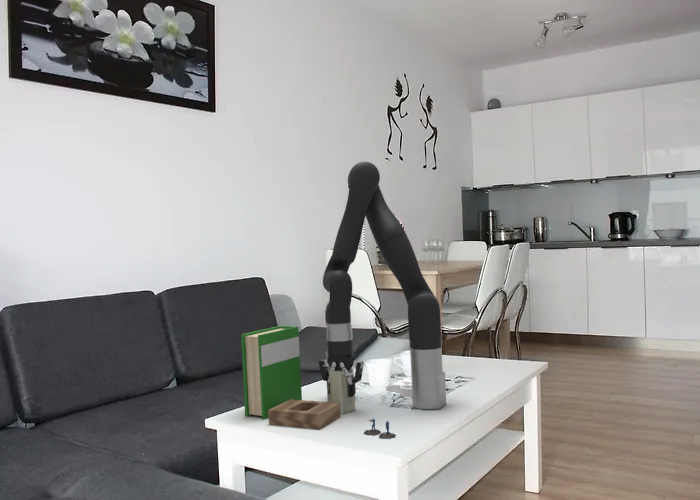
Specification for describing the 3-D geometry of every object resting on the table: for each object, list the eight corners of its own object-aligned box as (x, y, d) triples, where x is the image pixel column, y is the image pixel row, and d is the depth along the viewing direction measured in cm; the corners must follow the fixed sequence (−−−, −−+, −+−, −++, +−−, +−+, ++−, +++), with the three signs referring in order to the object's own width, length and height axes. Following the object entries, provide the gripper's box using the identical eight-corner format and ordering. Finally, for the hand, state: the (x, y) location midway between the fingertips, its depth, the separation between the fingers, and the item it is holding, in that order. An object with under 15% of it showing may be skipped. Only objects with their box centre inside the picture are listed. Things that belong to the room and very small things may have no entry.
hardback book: (264, 419, 178) (260, 335, 177) (245, 416, 182) (240, 334, 181) (302, 404, 193) (298, 326, 192) (283, 402, 197) (279, 325, 196)
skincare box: (345, 407, 186) (343, 366, 186) (356, 409, 183) (354, 368, 183) (330, 412, 182) (328, 370, 182) (341, 414, 179) (339, 372, 179)
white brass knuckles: (407, 384, 214) (447, 388, 206) (381, 396, 199) (422, 401, 191) (407, 374, 214) (446, 378, 206) (380, 385, 199) (421, 390, 191)
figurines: (401, 436, 157) (400, 419, 157) (389, 441, 154) (388, 424, 154) (371, 429, 164) (370, 413, 164) (359, 434, 161) (358, 417, 160)
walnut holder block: (340, 417, 176) (339, 403, 176) (319, 429, 165) (319, 414, 165) (291, 412, 183) (290, 399, 183) (268, 424, 172) (268, 410, 172)
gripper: (367, 336, 182) (370, 394, 183) (324, 335, 189) (326, 391, 189) (356, 340, 176) (359, 401, 176) (312, 339, 182) (314, 397, 182)
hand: (342, 395), depth 182 cm, fingers closed on skincare box, 5 cm apart
